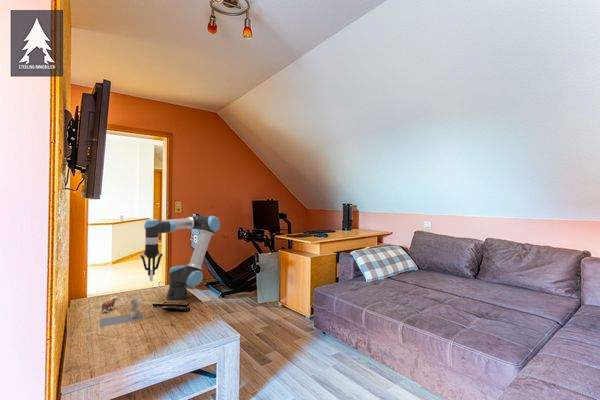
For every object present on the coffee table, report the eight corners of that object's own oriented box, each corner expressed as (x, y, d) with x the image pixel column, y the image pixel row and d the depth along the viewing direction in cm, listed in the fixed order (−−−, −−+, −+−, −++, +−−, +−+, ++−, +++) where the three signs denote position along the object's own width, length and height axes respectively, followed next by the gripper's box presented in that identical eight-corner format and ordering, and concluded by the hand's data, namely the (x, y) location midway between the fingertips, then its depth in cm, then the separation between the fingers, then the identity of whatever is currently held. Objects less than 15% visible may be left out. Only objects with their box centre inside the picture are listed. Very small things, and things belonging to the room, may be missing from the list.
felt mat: (141, 312, 193) (141, 312, 193) (142, 319, 183) (143, 319, 183) (100, 319, 182) (100, 319, 182) (99, 327, 171) (99, 327, 171)
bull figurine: (120, 307, 202) (120, 295, 202) (105, 315, 189) (105, 302, 189) (114, 306, 203) (114, 294, 202) (98, 314, 189) (99, 301, 189)
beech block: (138, 314, 189) (139, 298, 189) (139, 317, 185) (139, 300, 185) (129, 316, 187) (130, 299, 186) (130, 319, 182) (130, 302, 182)
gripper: (162, 242, 197) (161, 277, 197) (139, 243, 190) (139, 280, 190) (163, 243, 191) (163, 280, 191) (140, 245, 184) (140, 283, 184)
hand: (151, 280), depth 190 cm, fingers closed
